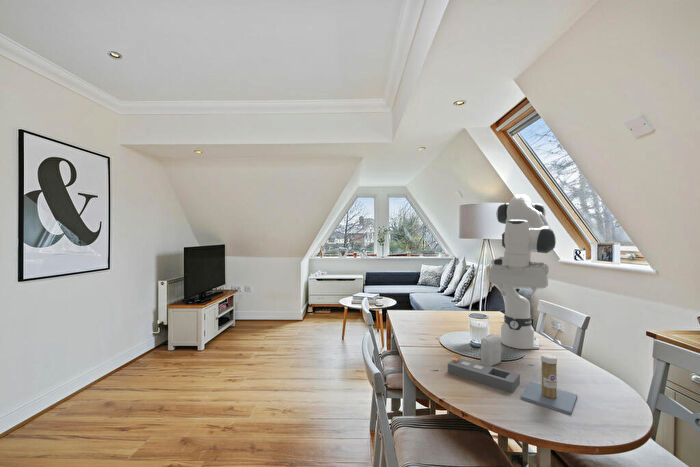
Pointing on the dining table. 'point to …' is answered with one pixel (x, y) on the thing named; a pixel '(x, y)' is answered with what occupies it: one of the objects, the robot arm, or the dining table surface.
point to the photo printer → (491, 350)
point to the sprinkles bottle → (549, 375)
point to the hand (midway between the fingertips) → (517, 297)
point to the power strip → (484, 374)
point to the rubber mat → (560, 403)
